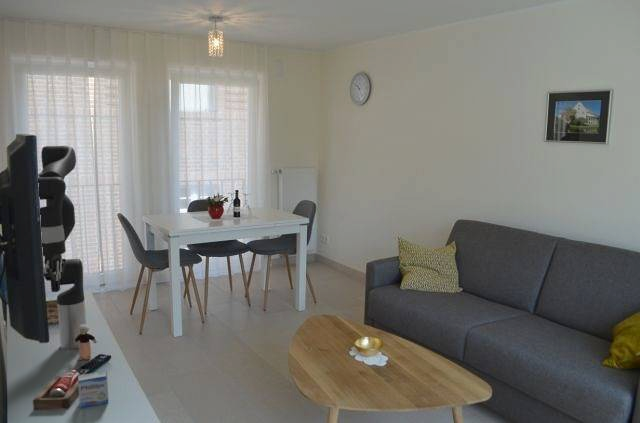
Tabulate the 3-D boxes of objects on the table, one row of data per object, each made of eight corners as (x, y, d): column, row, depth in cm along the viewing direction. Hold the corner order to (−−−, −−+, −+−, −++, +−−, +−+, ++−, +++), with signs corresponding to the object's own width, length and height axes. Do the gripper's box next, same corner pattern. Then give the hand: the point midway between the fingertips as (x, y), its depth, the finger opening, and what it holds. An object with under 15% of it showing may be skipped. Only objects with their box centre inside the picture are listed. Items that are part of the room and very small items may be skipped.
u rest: (56, 385, 165) (55, 376, 164) (87, 384, 165) (86, 375, 165) (33, 409, 150) (32, 400, 150) (68, 408, 151) (67, 399, 150)
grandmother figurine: (74, 362, 181) (71, 328, 179) (74, 357, 184) (72, 324, 182) (97, 358, 184) (95, 324, 182) (98, 354, 187) (95, 321, 185)
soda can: (77, 387, 165) (61, 407, 153) (61, 381, 164) (44, 400, 153) (83, 373, 164) (68, 392, 153) (67, 367, 164) (51, 385, 152)
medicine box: (79, 409, 151) (77, 381, 149) (80, 401, 155) (78, 374, 153) (108, 403, 154) (106, 376, 152) (108, 396, 158) (106, 369, 156)
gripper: (49, 235, 171) (53, 285, 174) (29, 244, 158) (34, 298, 161) (72, 234, 171) (76, 284, 174) (54, 243, 158) (58, 297, 161)
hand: (56, 291), depth 167 cm, fingers closed
